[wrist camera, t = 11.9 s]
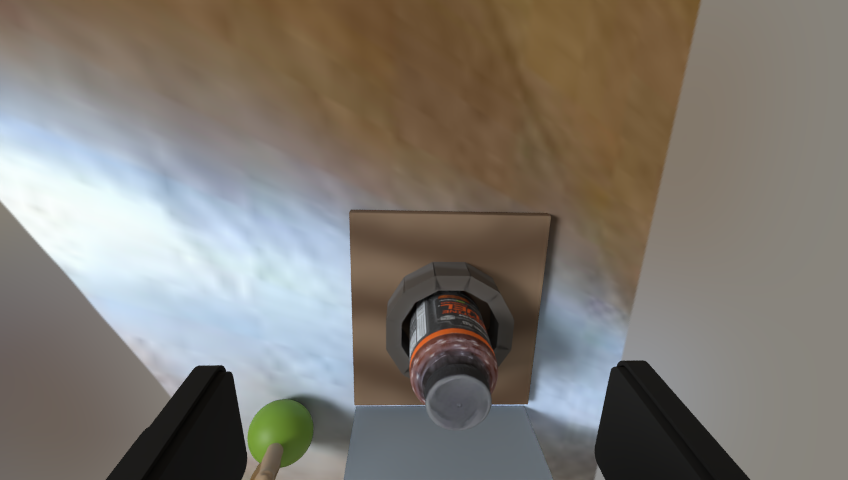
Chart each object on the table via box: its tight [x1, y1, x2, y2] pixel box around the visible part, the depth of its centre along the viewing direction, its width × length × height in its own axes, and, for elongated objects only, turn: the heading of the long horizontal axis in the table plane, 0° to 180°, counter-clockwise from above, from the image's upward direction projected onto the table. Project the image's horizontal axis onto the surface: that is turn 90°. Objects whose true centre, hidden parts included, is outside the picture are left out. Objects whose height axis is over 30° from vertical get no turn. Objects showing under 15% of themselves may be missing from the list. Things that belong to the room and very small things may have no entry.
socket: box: [349, 210, 551, 405], centre depth 34 cm, size 18×16×4 cm
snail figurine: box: [248, 399, 313, 480], centre depth 33 cm, size 5×6×12 cm
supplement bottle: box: [410, 290, 498, 431], centre depth 30 cm, size 6×6×11 cm
